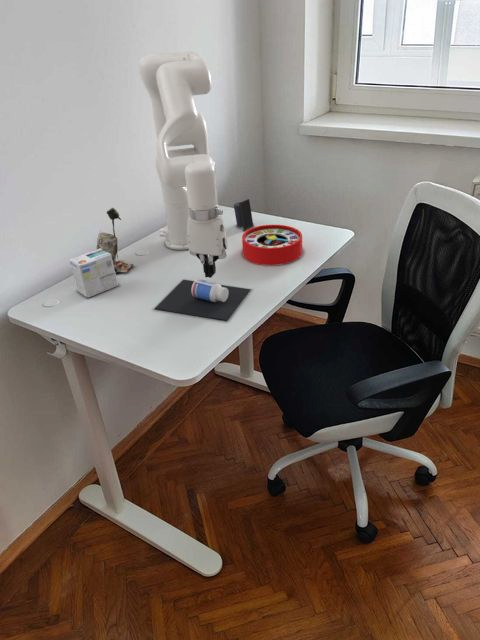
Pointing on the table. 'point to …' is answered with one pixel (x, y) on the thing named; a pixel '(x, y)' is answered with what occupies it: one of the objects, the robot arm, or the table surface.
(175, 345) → the table surface
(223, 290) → the pill bottle
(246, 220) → the speaker
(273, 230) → the toy clock
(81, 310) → the table surface
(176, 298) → the desk mat
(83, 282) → the light bulb box
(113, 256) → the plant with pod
